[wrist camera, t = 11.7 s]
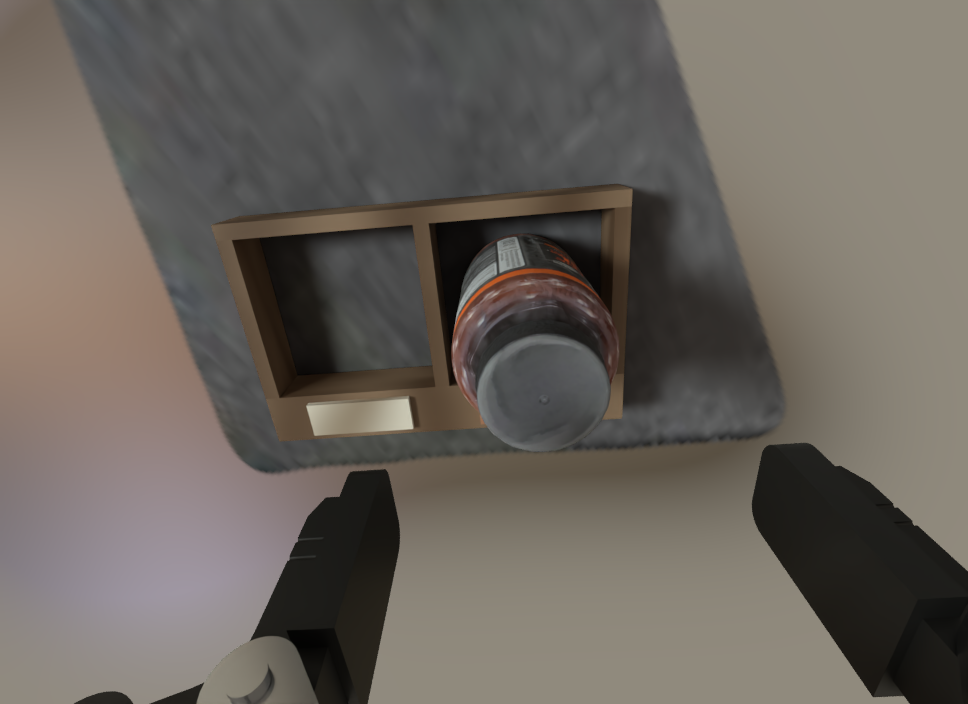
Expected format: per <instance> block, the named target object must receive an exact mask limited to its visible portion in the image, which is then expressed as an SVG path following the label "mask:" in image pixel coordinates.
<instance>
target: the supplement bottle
mask: <svg viewBox="0 0 968 704" xmlns="http://www.w3.org/2000/svg"><path fill="white" fill-rule="evenodd" d="M619 348H620V345H619V337H618V333H617V329H616V326H615V323H614V321H613V318H612V316H611V314H610V312H609V311H608V309H607V307H606V306H605V304H604V303H603V301H602V300H601V299H600V297H599V295H598V294H597V292H596V291H595V290H594V289H593V287H592V286H591V284H590V283H589V282H588V281H587V279H586V278H585V277H584V275H583V274H582V272H581V271H580V269H579V268H578V267H577V266H576V264H575V263H574V261H573V259H572V258H571V257H570V256H569V255H568V254H567V253H566V251H564V250H563V249H562V248H560V247H559V246H558V245H556V244H555V243H553V242H552V241H550V240H548V239H546V238H543V237H540V236H536V235H532V234H513V235H509V236H504V237H502V238H499V239H496V240H495V241H492V242H491V243H489V244H488V245H486V246H485V247H484V248H483V249H482V250H481V251H480V252H479V253H478V254H477V255H476V256H475V257H474V259H473V260H472V262H471V263H470V265H469V267H468V269H467V272H466V274H465V277H464V280H463V284H462V289H461V295H460V300H459V306H458V311H457V316H456V321H455V327H454V332H453V340H452V351H451V355H452V367H453V372H454V375H455V378H456V381H457V384H458V386H459V388H460V390H461V392H462V393H463V395H464V396H465V398H466V399H467V400H468V402H469V403H470V404H471V405H472V406H473V407H474V408H475V409H476V410H477V411H478V412H480V415H481V417H482V419H483V421H484V423H485V424H486V425H487V427H488V428H489V430H490V431H491V432H492V433H493V434H494V435H495V436H497V437H498V438H499V439H500V440H502V441H503V442H505V443H507V444H508V445H510V446H513V447H515V448H520V449H523V450H528V451H534V452H540V451H541V452H546V451H554V450H559V449H562V448H565V447H568V446H571V445H574V444H575V443H577V442H578V441H580V440H582V439H583V438H585V437H586V436H587V435H589V434H590V433H591V432H592V431H593V430H594V429H595V428H596V427H597V426H598V424H599V423H600V422H601V420H602V419H603V417H604V415H605V413H606V411H607V409H608V406H609V401H610V395H611V384H612V381H613V379H614V376H615V374H616V371H617V366H618V362H619Z"/></svg>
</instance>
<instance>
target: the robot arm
mask: <svg viewBox="0 0 968 704" xmlns="http://www.w3.org/2000/svg"><path fill="white" fill-rule="evenodd" d="M752 512H753V517H754V520H755V523H756V525H757V527H758V530H759V532H760V533H761V535H762V536H763V538H764V539H765V541H766V542H767V543H768V545H769V546H770V548H771V549H772V551H773V552H774V554H775V555H776V557H777V558H778V559H779V561H780V562H781V564H782V565H783V567H784V568H785V570H786V571H787V572H788V574H789V575H790V577H791V578H792V580H793V581H794V583H795V584H796V586H797V587H798V588H799V590H800V592H801V593H802V594H803V596H804V597H805V599H806V600H807V602H808V603H809V605H810V606H811V608H812V609H813V610H814V611H815V613H816V615H817V616H818V618H819V619H820V620H821V622H822V623H823V625H824V626H825V628H826V629H827V631H828V632H829V633H830V635H831V637H832V638H833V639H834V641H835V642H836V644H837V645H838V647H839V648H840V650H841V651H842V653H843V654H844V656H845V657H846V658H847V660H848V661H849V663H850V664H851V666H852V667H853V669H854V670H855V672H856V673H857V675H858V676H859V677H860V679H861V680H862V681H863V683H864V685H865V686H866V688H867V689H868V691H869V692H870V693H871V695H872V696H873V697H888V696H904V697H905V698H906V699H907V701H908V702H909V703H910V704H968V571H967V570H966V569H965V568H963V567H962V566H961V565H960V564H959V563H958V562H957V561H956V560H954V559H953V558H952V557H951V556H950V555H949V554H948V553H947V552H946V551H945V550H944V549H943V548H941V547H940V546H939V545H938V544H937V543H936V542H935V541H934V540H933V539H931V538H930V537H929V536H928V535H927V534H926V533H925V532H924V531H923V530H922V529H921V528H919V527H918V526H914V525H913V523H912V520H911V519H910V518H909V517H907V516H906V515H905V514H904V513H903V512H902V511H901V510H900V509H899V508H894V506H893V503H892V502H891V501H890V500H889V499H888V498H886V497H885V496H884V495H883V494H882V493H881V492H880V491H879V490H878V489H877V488H875V487H874V486H873V485H872V484H871V483H870V482H868V481H866V480H864V479H863V478H861V477H859V476H857V475H856V474H854V473H852V472H850V471H849V470H847V469H845V468H843V467H842V466H834V465H833V464H832V463H831V462H830V461H829V460H828V459H827V458H826V457H824V455H823V454H822V453H821V452H819V451H818V450H817V449H816V448H815V447H814V446H813V445H811V444H808V443H795V444H780V445H768V446H767V447H765V448H764V450H763V452H762V456H761V461H760V466H759V471H758V475H757V480H756V485H755V489H754V494H753V500H752ZM399 544H400V528H399V520H398V516H397V511H396V506H395V502H394V497H393V492H392V488H391V484H390V479H389V475H388V472H387V471H386V470H385V469H384V470H367V471H353V472H350V474H349V475H348V477H347V480H346V482H345V485H344V487H343V489H342V492H341V494H340V497H330V498H325V499H324V500H323V501H322V502H321V503H320V504H319V505H318V507H317V508H316V509H315V510H314V511H313V512H312V513H311V514H310V515H309V516H308V517H307V519H306V522H305V524H304V526H303V528H302V530H301V533H300V535H299V537H298V542H297V543H295V546H294V548H293V550H292V552H291V554H290V560H289V561H287V563H286V565H285V567H284V569H283V572H282V574H281V576H280V578H279V580H278V583H277V585H276V587H275V589H274V591H273V594H272V595H271V598H270V600H269V602H268V605H267V606H266V609H265V611H264V613H263V615H262V617H261V619H260V622H259V624H258V626H257V628H256V630H255V632H254V634H253V636H252V638H251V640H250V641H249V642H247V643H245V644H243V645H241V646H239V647H238V648H236V649H235V650H233V651H232V652H231V653H230V654H228V655H227V656H226V657H225V658H224V659H223V660H222V661H221V662H220V663H219V664H218V665H217V666H216V667H215V668H214V670H213V671H212V672H211V673H210V675H209V676H208V678H207V679H206V681H205V682H204V683H202V684H200V685H198V686H196V687H193V688H191V689H188V690H186V691H183V692H180V693H177V694H175V695H172V696H169V697H167V698H164V699H161V700H159V701H156V702H153V703H151V704H368V699H369V694H370V689H371V684H372V679H373V674H374V669H375V665H376V660H377V654H378V650H379V645H380V640H381V635H382V631H383V626H384V621H385V616H386V611H387V606H388V601H389V596H390V591H391V586H392V582H393V577H394V571H395V567H396V562H397V558H398V552H399ZM74 704H133V703H132V701H131V700H130V699H129V698H128V697H127V696H126V695H124V694H123V693H120V692H103V693H98V694H95V695H92V696H89V697H86V698H84V699H82V700H80V701H78V702H76V703H74Z"/></svg>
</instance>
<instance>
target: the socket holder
mask: <svg viewBox="0 0 968 704" xmlns="http://www.w3.org/2000/svg"><path fill="white" fill-rule="evenodd" d="M632 191H633V189H631V188H628V187H625V186H622V185H619V184H610V185H598V186H586V187H575V188H563V189H551V190H540V191H528V192H517V193H505V194H493V195H482V196H470V197H459V198H447V199H435V200H424V201H412V202H401V203H389V204H377V205H366V206H354V207H342V208H331V209H319V210H308V211H296V212H284V213H273V214H261V215H250V216H239V217H235V218H232V219H229V220H226V221H222V222H219V223H216V224H213V225H211V227H212V230H213V233H214V236H215V239H216V243H217V246H218V249H219V252H220V255H221V258H222V262H223V265H224V268H225V271H226V274H227V277H228V281H229V284H230V287H231V290H232V293H233V296H234V299H235V303H236V306H237V309H238V312H239V315H240V318H241V322H242V325H243V328H244V331H245V334H246V337H247V341H248V344H249V347H250V350H251V353H252V356H253V359H254V363H255V366H256V369H257V372H258V375H259V378H260V382H261V385H262V388H263V391H264V394H265V397H266V401H267V404H268V407H269V410H270V413H271V416H272V419H273V423H274V426H275V429H276V432H277V435H278V438H279V441H293V440H308V439H322V438H337V437H352V436H367V435H382V434H397V433H411V432H426V431H441V430H456V429H471V428H485V427H487V425H486V424H485V423H484V421H483V419H482V417H481V415H480V412H478V411H477V410H476V409H475V408H474V407H473V406H472V405H471V404H470V403H469V402H468V400H467V399H466V398H465V396H464V395H463V393H462V392H461V390H460V388H459V386H458V384H457V381H456V378H455V375H454V372H453V367H452V355H451V347H450V339H449V331H448V323H447V314H446V306H445V298H444V290H443V282H442V274H441V265H440V257H439V249H438V241H437V233H436V225H435V223H440V222H451V221H463V220H475V219H487V218H499V217H511V216H523V215H535V214H546V213H558V212H570V211H582V210H594V209H602V221H601V269H600V299H601V300H602V301H603V303H604V304H605V306H606V307H607V309H608V311H609V312H610V314H611V316H612V318H613V321H614V323H615V326H616V329H617V333H618V337H619V345H620V348H619V362H618V366H617V371H616V374H615V376H614V379H613V381H612V384H611V395H610V401H609V406H608V409H607V411H606V413H605V415H604V417H603V419H602V420H604V419H619V418H622V407H623V385H624V364H625V342H626V321H627V299H628V277H629V256H630V234H631V213H632ZM404 225H413V232H414V239H415V246H416V253H417V260H418V267H419V274H420V281H421V288H422V296H423V303H424V310H425V317H426V324H427V331H428V338H429V345H430V352H431V359H432V366H422V367H409V368H395V369H381V370H367V371H354V372H340V373H326V374H312V375H299V376H298V375H297V372H296V368H295V365H294V361H293V357H292V354H291V350H290V347H289V343H288V339H287V336H286V332H285V329H284V325H283V322H282V318H281V314H280V311H279V307H278V304H277V300H276V296H275V293H274V289H273V286H272V282H271V278H270V275H269V271H268V268H267V264H266V260H265V257H264V253H263V250H262V246H261V242H260V239H259V238H261V237H273V236H285V235H297V234H309V233H321V232H333V231H345V230H356V229H368V228H380V227H392V226H404Z"/></svg>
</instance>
